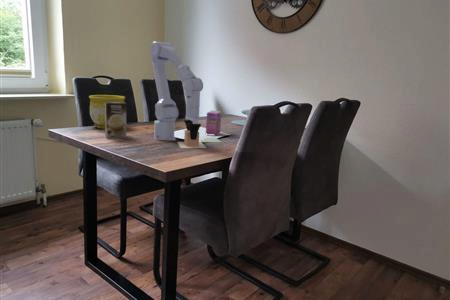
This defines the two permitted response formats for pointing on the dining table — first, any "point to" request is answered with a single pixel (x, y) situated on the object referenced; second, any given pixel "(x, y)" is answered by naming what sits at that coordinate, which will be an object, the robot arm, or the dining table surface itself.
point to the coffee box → (115, 119)
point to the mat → (210, 140)
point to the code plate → (191, 146)
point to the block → (188, 140)
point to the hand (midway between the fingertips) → (191, 137)
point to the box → (213, 122)
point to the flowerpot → (101, 107)
